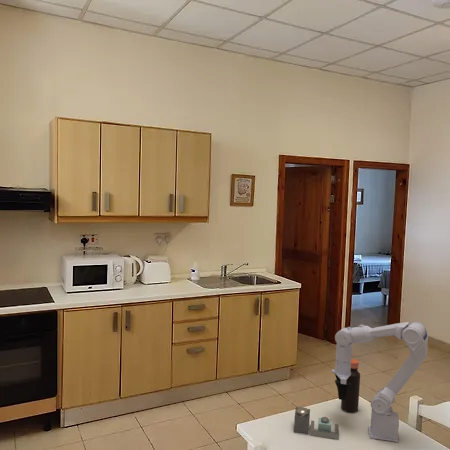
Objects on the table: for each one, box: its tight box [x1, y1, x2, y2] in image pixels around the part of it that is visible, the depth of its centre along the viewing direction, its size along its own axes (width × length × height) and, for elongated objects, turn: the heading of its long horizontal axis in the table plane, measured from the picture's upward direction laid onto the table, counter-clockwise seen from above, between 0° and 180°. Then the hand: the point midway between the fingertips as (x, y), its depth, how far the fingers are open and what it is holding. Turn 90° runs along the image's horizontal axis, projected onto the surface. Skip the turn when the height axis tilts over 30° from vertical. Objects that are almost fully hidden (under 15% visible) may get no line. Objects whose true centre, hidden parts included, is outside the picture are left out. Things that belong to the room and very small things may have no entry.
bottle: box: [340, 358, 361, 414], centre depth 181 cm, size 7×7×20 cm
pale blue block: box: [317, 416, 332, 432], centre depth 163 cm, size 4×4×5 cm
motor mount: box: [293, 406, 340, 441], centre depth 163 cm, size 16×8×7 cm, turn 78°
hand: (341, 394), depth 171 cm, fingers open, 7 cm apart
